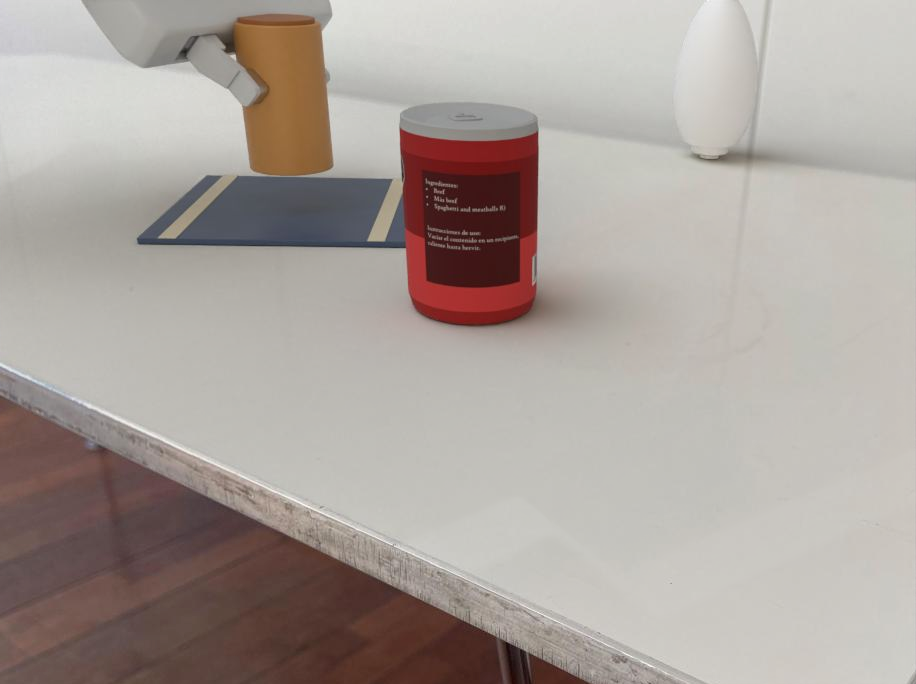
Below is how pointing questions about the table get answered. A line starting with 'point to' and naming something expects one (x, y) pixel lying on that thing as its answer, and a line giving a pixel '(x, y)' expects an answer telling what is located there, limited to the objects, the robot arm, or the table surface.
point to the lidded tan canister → (286, 94)
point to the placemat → (285, 213)
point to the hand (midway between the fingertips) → (291, 92)
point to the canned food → (470, 210)
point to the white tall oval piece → (716, 79)
